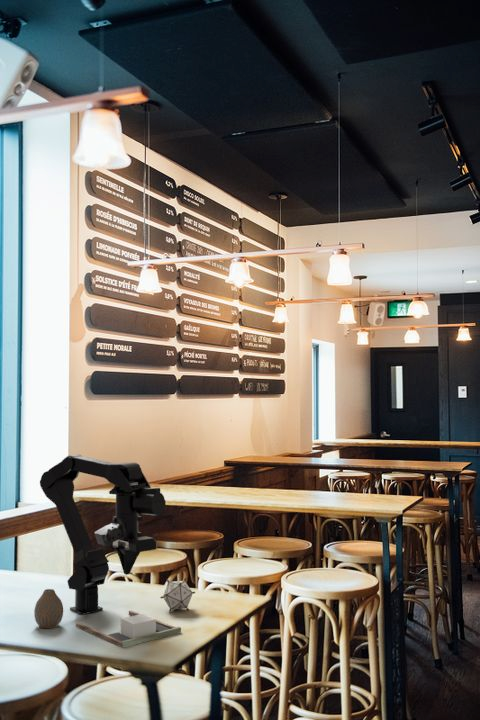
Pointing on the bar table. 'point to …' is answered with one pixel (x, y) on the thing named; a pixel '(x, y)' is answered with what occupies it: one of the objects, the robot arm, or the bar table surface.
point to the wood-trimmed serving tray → (136, 640)
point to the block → (137, 625)
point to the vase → (48, 610)
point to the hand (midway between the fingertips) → (126, 574)
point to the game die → (177, 595)
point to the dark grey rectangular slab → (123, 638)
